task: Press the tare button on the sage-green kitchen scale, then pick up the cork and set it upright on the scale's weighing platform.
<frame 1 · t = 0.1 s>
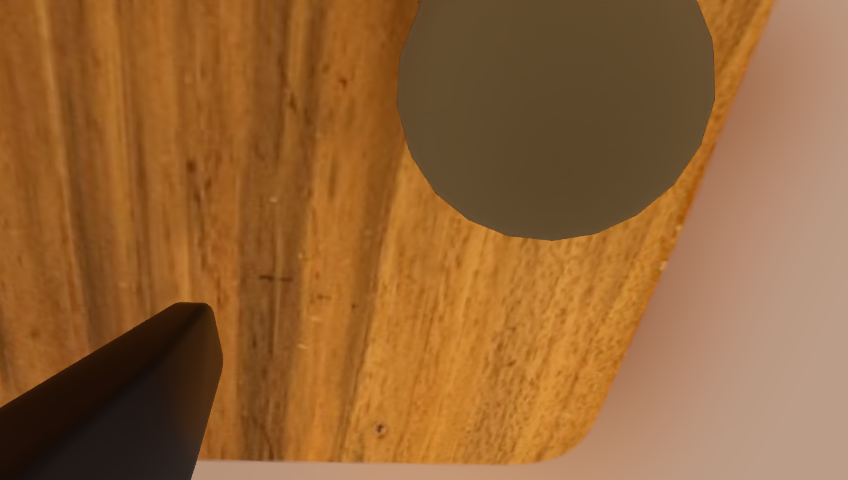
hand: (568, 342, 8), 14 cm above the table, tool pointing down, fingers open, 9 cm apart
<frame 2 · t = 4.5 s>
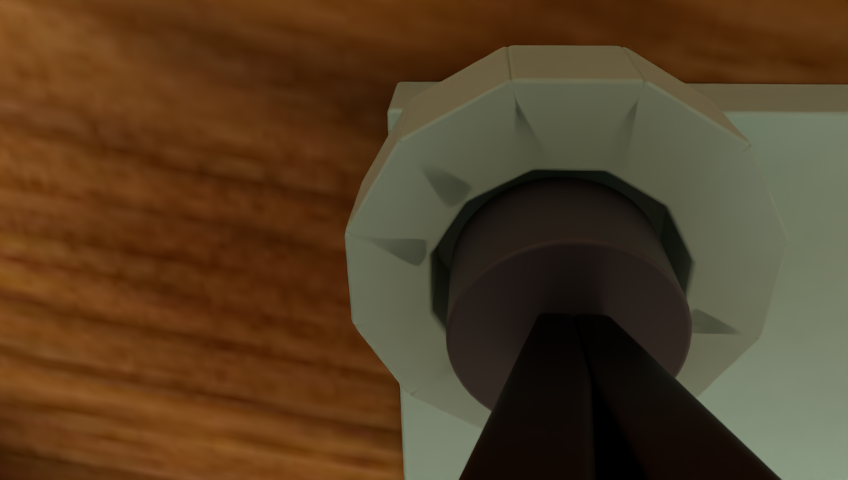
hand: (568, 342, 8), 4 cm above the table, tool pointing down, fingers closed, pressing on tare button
tare button: (560, 303, 9), point 3 cm above the table, slide at 0.0 cm, touching gripper
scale: (700, 371, 14), on the table
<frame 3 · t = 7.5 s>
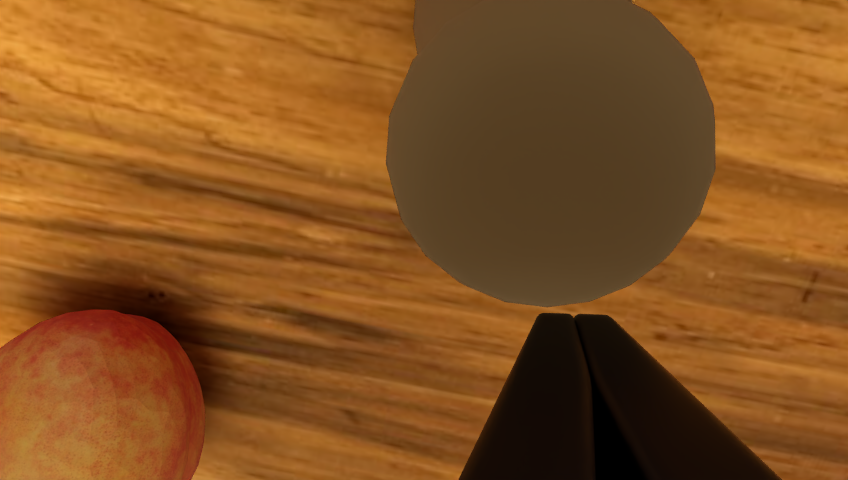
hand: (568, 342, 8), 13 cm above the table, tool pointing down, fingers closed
cork: (519, 21, 19), on the table
fruit: (140, 353, 27), on the table
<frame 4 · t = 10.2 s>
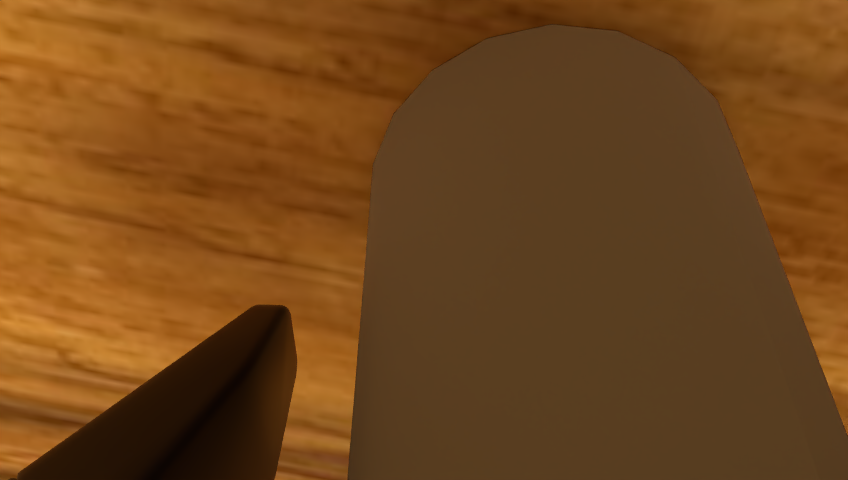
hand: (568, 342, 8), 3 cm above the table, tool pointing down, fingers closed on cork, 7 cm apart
cork: (548, 204, 11), on the table, touching gripper
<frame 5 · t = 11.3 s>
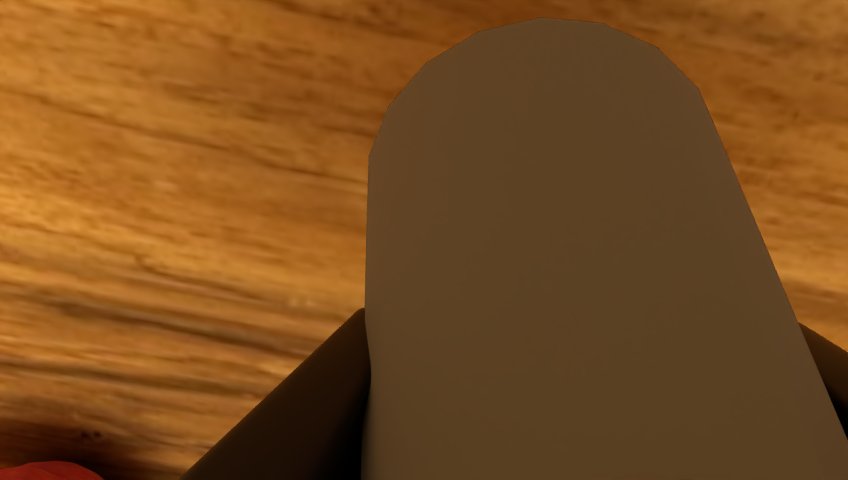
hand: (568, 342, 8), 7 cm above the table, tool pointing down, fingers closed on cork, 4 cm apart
cork: (538, 191, 12), point 3 cm above the table, touching gripper
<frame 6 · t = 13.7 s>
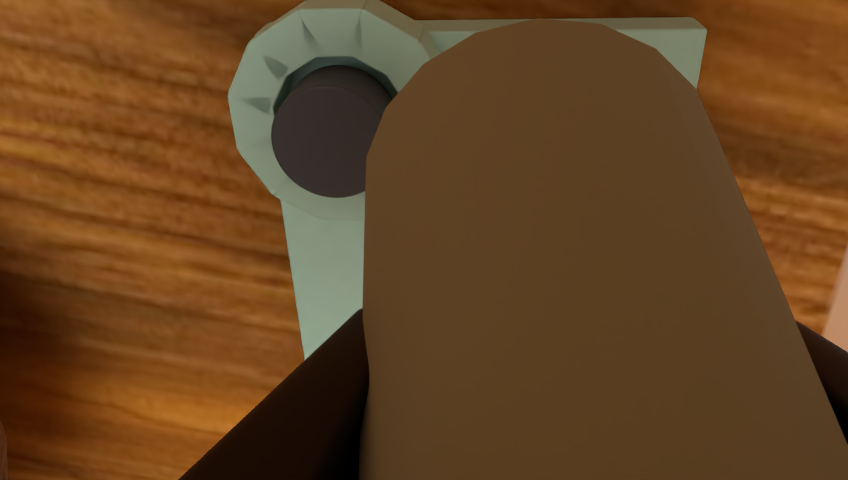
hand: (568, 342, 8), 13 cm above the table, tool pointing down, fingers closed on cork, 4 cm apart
tare button: (337, 131, 17), point 4 cm above the table, slide at 0.1 cm
cork: (536, 192, 12), point 9 cm above the table, touching gripper
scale: (473, 206, 22), on the table
when the fingers open (5 cm above the table, at t = 16.5 s): cork stays where it is, resting on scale.
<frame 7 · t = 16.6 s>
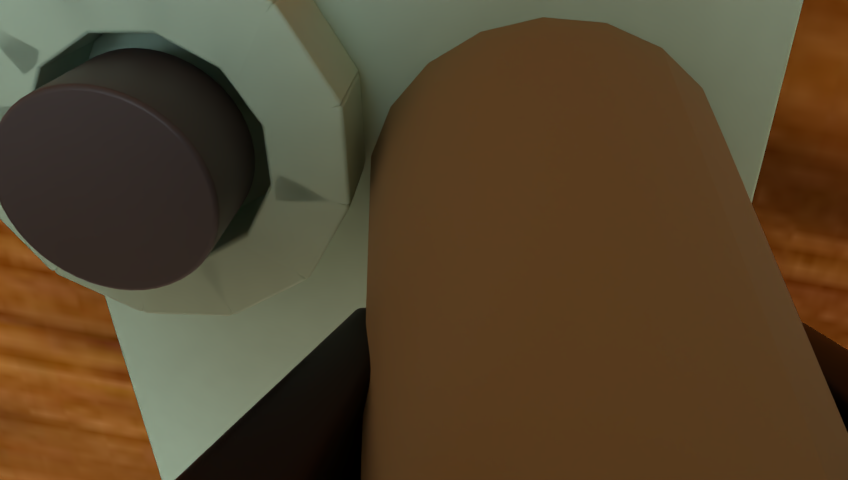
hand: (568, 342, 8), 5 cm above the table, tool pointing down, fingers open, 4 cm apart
tare button: (133, 169, 10), point 4 cm above the table, slide at 0.1 cm
cork: (541, 192, 12), point 1 cm above the table, touching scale
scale: (410, 276, 14), on the table
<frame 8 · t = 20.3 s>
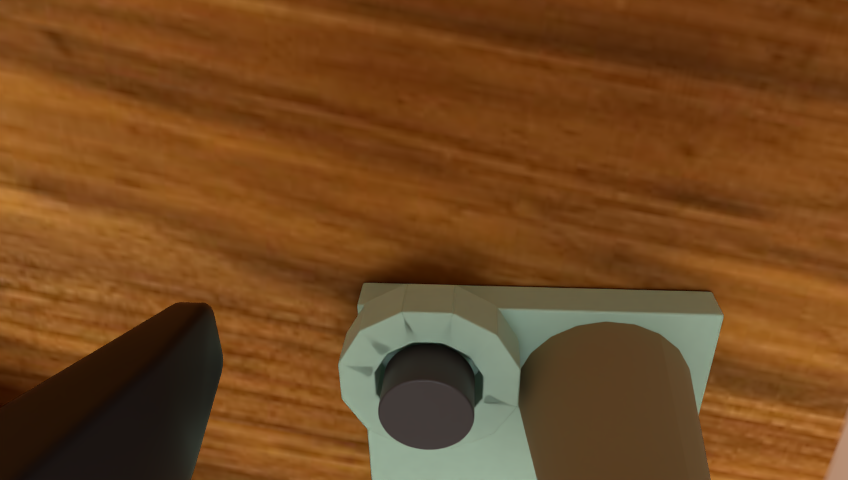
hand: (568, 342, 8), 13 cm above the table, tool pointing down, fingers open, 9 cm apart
tare button: (427, 396, 22), point 4 cm above the table, slide at 0.1 cm
cork: (601, 386, 24), point 1 cm above the table, touching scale
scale: (524, 413, 27), on the table
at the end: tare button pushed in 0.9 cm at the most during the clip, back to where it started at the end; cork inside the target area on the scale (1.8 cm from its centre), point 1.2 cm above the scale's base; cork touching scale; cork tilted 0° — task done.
